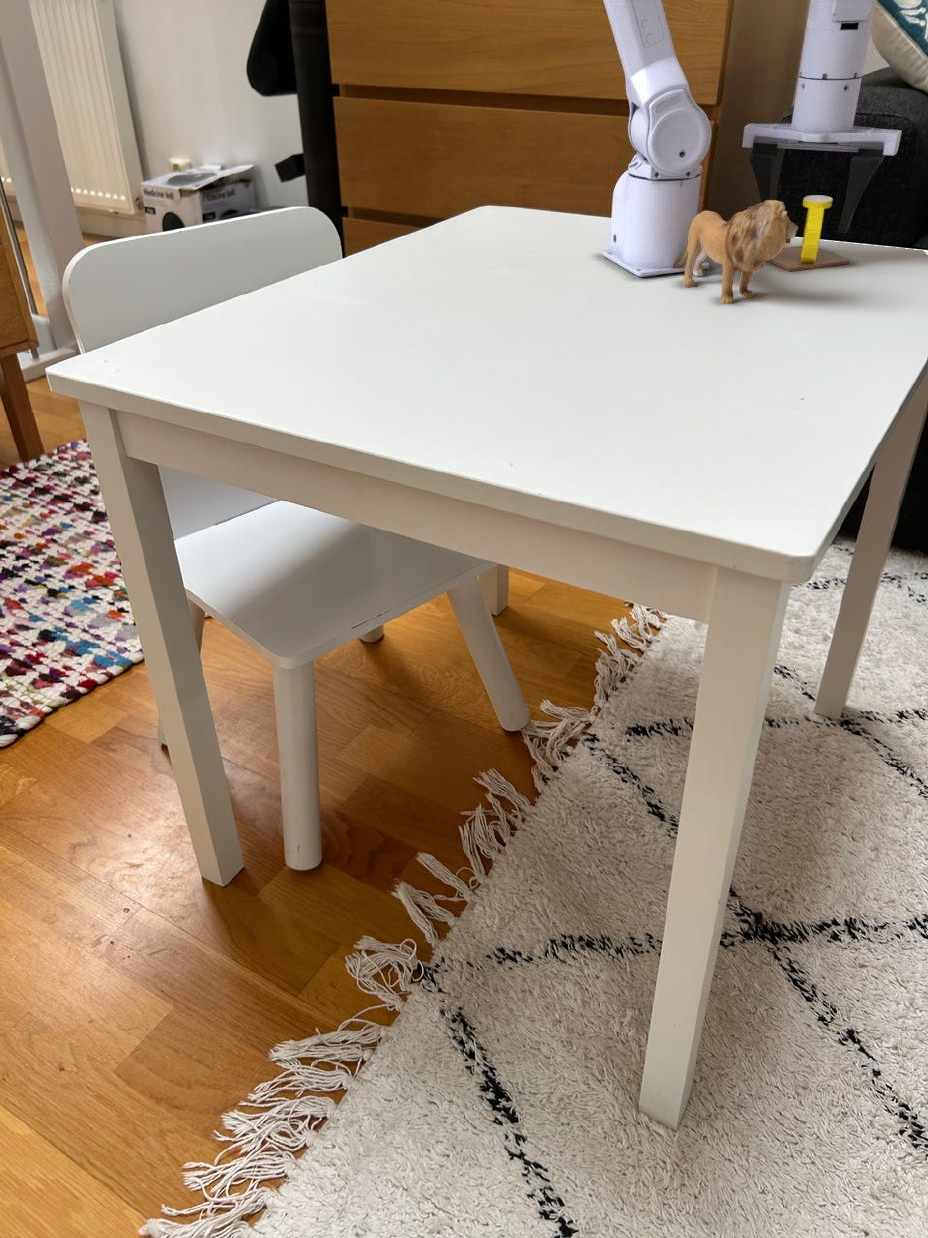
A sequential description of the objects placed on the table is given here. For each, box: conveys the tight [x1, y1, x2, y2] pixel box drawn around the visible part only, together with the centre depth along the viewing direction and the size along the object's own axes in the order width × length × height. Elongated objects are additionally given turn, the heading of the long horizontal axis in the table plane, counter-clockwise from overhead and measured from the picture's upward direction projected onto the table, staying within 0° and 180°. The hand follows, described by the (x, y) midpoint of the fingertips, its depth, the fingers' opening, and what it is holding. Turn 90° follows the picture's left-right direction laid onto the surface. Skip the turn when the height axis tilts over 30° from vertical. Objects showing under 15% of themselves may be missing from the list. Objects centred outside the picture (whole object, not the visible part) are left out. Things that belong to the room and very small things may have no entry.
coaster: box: [767, 245, 850, 272], centre depth 100 cm, size 7×7×1 cm
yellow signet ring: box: [801, 194, 833, 263], centre depth 97 cm, size 6×3×6 cm, turn 163°
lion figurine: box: [673, 199, 799, 305], centre depth 90 cm, size 15×5×9 cm, turn 31°
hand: (804, 227), depth 99 cm, fingers open, 7 cm apart
